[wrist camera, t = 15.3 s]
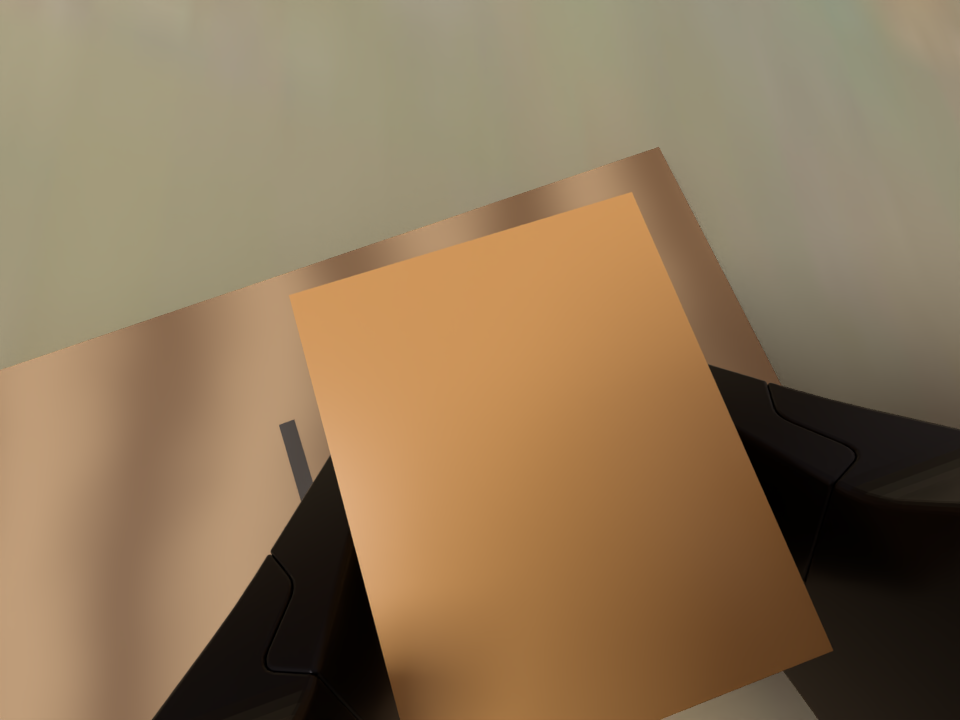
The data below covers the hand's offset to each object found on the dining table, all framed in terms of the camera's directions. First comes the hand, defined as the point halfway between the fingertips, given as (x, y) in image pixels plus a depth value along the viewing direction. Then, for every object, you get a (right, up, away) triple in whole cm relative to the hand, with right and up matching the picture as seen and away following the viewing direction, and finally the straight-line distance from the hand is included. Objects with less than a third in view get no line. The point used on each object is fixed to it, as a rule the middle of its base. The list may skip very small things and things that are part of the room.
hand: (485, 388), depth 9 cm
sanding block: (0, -3, +5) cm, 6 cm away
